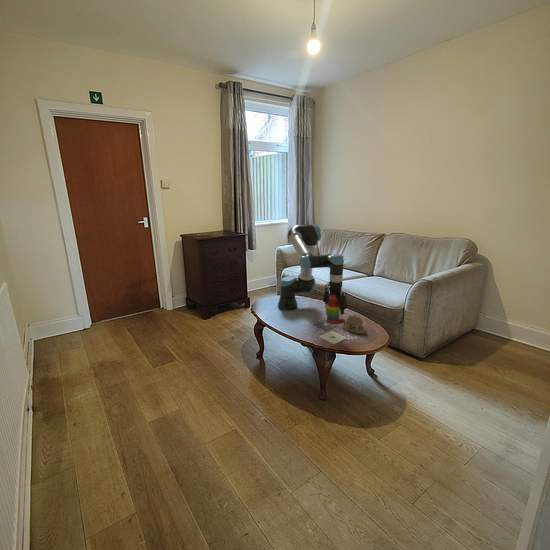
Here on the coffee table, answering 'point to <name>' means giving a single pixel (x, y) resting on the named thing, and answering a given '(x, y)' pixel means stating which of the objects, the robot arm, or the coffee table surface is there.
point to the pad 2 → (332, 337)
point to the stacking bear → (333, 311)
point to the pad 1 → (325, 325)
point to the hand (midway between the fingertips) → (334, 316)
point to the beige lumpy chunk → (353, 324)
